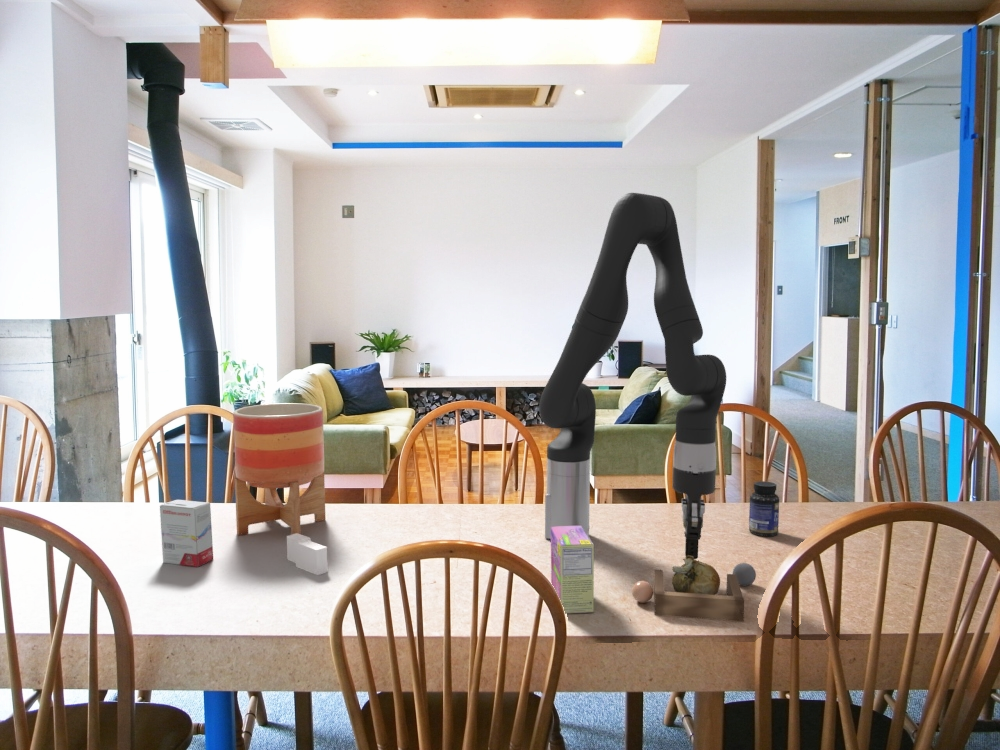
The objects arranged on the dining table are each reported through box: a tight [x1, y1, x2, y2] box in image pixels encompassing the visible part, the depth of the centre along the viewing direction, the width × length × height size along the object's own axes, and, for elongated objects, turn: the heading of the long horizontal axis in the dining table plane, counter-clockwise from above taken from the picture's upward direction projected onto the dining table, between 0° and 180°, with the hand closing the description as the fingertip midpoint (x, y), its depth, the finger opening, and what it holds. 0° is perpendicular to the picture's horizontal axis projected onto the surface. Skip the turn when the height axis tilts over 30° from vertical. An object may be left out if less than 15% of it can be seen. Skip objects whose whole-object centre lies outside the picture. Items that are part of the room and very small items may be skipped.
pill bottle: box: [748, 480, 780, 538], centre depth 167 cm, size 6×6×11 cm
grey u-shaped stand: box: [653, 568, 745, 622], centre depth 130 cm, size 14×12×4 cm
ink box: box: [159, 499, 214, 568], centre depth 150 cm, size 9×5×12 cm, turn 71°
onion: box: [671, 555, 721, 595], centre depth 131 cm, size 8×8×8 cm
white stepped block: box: [286, 533, 329, 576], centre depth 149 cm, size 15×11×6 cm
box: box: [550, 526, 595, 615], centre depth 130 cm, size 10×6×12 cm, turn 5°
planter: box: [232, 402, 326, 536], centre depth 171 cm, size 20×20×27 cm
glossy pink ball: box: [631, 580, 654, 604], centre depth 131 cm, size 4×4×4 cm
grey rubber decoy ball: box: [732, 562, 757, 587], centre depth 138 cm, size 4×4×4 cm
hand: (691, 557), depth 140 cm, fingers closed
